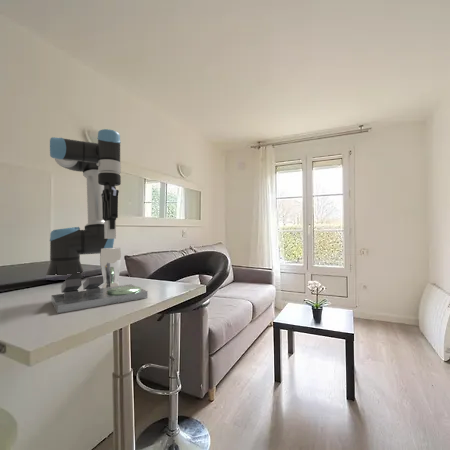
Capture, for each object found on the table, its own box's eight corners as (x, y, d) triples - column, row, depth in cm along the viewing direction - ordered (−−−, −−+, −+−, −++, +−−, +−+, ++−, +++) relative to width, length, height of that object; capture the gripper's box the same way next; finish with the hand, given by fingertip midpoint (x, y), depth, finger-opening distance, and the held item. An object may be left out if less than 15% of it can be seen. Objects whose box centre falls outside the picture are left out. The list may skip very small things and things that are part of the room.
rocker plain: (83, 289, 85) (83, 283, 86) (97, 287, 88) (96, 281, 88) (89, 284, 78) (88, 277, 79) (103, 282, 81) (103, 276, 81)
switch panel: (51, 301, 81) (51, 290, 81) (131, 289, 95) (131, 280, 96) (57, 313, 69) (57, 300, 69) (147, 297, 84) (147, 286, 84)
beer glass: (108, 287, 100) (108, 247, 100) (125, 288, 99) (124, 247, 99) (95, 291, 93) (95, 248, 94) (113, 292, 92) (113, 248, 92)
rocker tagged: (61, 292, 81) (61, 285, 82) (76, 290, 84) (75, 283, 84) (65, 287, 75) (65, 279, 75) (81, 285, 77) (81, 277, 78)
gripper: (93, 176, 101) (93, 238, 100) (104, 168, 88) (104, 239, 88) (113, 178, 105) (114, 238, 105) (127, 170, 93) (128, 238, 92)
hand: (110, 238), depth 96 cm, fingers open, 3 cm apart
